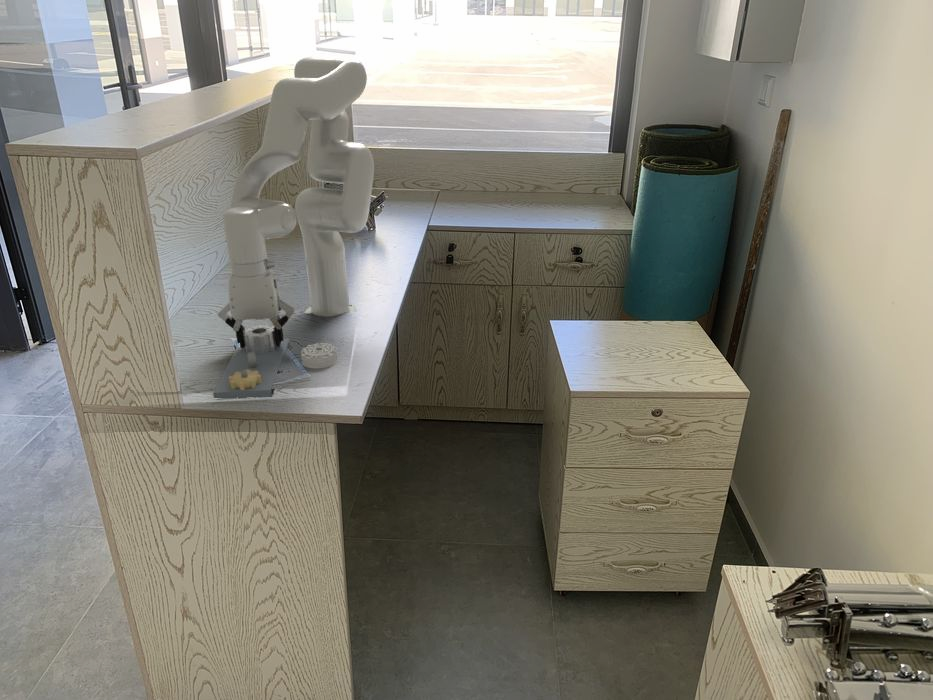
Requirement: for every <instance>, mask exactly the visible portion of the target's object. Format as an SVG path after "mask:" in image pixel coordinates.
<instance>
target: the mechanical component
mask: <svg viewBox="0 0 933 700" xmlns="http://www.w3.org/2000/svg"><path fill="white" fill-rule="evenodd" d="M300 357H301V365H302V366H304V367H305V368H309V369H324V368H325V369H326V368H329V367H332V366H335V365H336V364H337V363H338V362H339V360H340V359H339V355H338V347H337V346H335V345H334V344H333V343H331V344H330V343H328V342H320V343H319V342H316V343H313V344H308V345H307V346H306V347H302V349H301V350H300Z"/></svg>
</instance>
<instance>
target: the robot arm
mask: <svg viewBox="0 0 933 700" xmlns="http://www.w3.org/2000/svg"><path fill="white" fill-rule="evenodd" d="M362 63H363V62H361V61H360V60H358V59H357V58H354V57H351V56H308V57H303V58H302V59H300V60H298V61H297V62H296V64H295V66H294V71H293V72H294V73H293V75H294V77H290V78H289V77H287V78H283V79H280V80H279V81H277V82H276V83H275V85H274V86H273V89H272V94H271V98H270V103H269V108H268V112H267V113H268V114H267V116H266V117H267V118H266V123H265V128H264V133H263V138H262V143H261V146H260V148H259V149H258V151H257V152H255V153H254V154H253V155H252V157H250V159H249V160H248V161H247V163H246V164H245V165H244V167H243V168H242V169H241V171H240V172H239V174H238V175H237V178H236V179H235V182H234V185H233V192H232V197H231V203H230V208H229V209H227V210H225V211H224V213H223V215H222V220H223V222H222V223H223V227H224V229H223V230H224V233H225V241H226V247H227V253H228V259H229V264H230V273H229V274H228V275H229V276H228V302H227V304H226V305H224V306H223V307H222V308H221V309H220V310H219V312H218V313H217V316H218V317H219V318H220V319H222V321H224V322H225V324H226V325H227V326H229V327H230V328H232V330H233V331H234V332H235V335H236V342H237V344H239V343H240V347H241V348H244V347H245V343H244V336H243V331H246V328H245V326H244V325H243V322H244V321H257V320H258V321H259V320H262V321H263V320H270V322H271V323H272V326H274V327H275V329H274V336H275V343H276V346H280V344H281V341H283V339H284V332H283V331H284V330H283V326H284V325H285V324H286V323H288V321H289V319H290V318H291V317H292V316H293V314H295V310H296V309H295V308H294V307H292V306H291V305H289V304H288V303H287V302H285V301H284V300H282V299H281V295H280V291H279V288H278V282H277V279H276V276H275V273H274V270H273V269H272V268H276V261H274V260H270V259H269V257H268V255H267V248H266V240H269V239H270V240H271V239H277V238H282V237H285V236H287V235H290V233H291V232H293V231H294V230H295V228H296V226H297V223H298V225H299V229H300V232H301V237H302V241H303V249H304V256H305V257H304V259H305V267H306V275H307V286H308V293H309V303H310V306H309V307H308V308H307V309H306V310H305V312H304V313H305V314H312V315H315V316H318V317H335V316H340V315H343V314H346V313H347V312H348V313H349V312H357V307H356V306H355V305H353V304H352V303H350V297H349V286H348V275H347V274H348V273H347V264H346V249H345V243H344V241H343V238H342V236H341V233H349V234H350V233H351V234H352V233H353V234H354V233H359V232H360V231H362V230H364V228H365V226H366V224H367V222H368V217H369V215H370V214H369V213H370V207H371V201H372V192H373V185H374V175H375V162H374V157H373V154H372V151H371V150H370V149H369V148H368V146H366V145H365V144H363V143H360V142H353V141H348V138H349V129H350V128H349V127H350V126H349V125H350V122H349V115H348V114H347V112H346V109H347V108H349V106H351V105H352V104H353V103H355V102H356V101H357V100H358V99H359V98H360V97H361V96H362V94H363V93H364V92H365V91H364V90H365V88H366V85H367V82H368V81H367V80H368V77H367V71H366V68H365V66H364V65H363V64H362ZM310 121H311V126H310V127H311V128H310V135H309V144H308V152H307V160H306V161H307V165H306V166H307V172H308V174H309V177H310V178H312V179H313V180H315V181H317V182H321V183H322V182H323V183H328V184H329V183H330V184H340V185H343V187H342V189H335V188H328V187H326V188H325V187H308V188H305V189H304V190H301V191H300V193H299V194H298V195H297V196H296V200H295V205H294V207H293V206H292V205H290V204H289V203H287V202H285V201H280V200H274V199H273V200H272V199H266V198H260V195H261V192H262V189H263V187H264V185H265V184H266V183H267V181H269V180H270V178H271V177H273V175H275V174H277V173H279V172H280V171H282V170H284V169H286V168H288V167H289V166H292V165H294V164H296V163H298V162H299V161H300V160H301V159H302V157H303V152H304V148H305V142H306V138H307V134H308V133H307V132H308V128H309V123H310ZM340 232H341V233H340ZM280 311H284V312H285V313H284V314H283V315H282V316H280V315H279V312H280ZM229 312H230V315H231V316H230V315H229Z"/></svg>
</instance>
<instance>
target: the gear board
mask: <svg viewBox="0 0 933 700" xmlns="http://www.w3.org/2000/svg"><path fill="white" fill-rule="evenodd" d="M290 340H291V339H290V338H283V341H281V344H280V346H278V348H275V350H274V351H272V352H271V351H269V352H266V353H265V354H262V353H257V354H255V353H254V352H248V353H247V352H246V349H245V347H244V348H241V347H238V345H237V347H236V349H235V350H234V352H233V354H232V356H231V357H230V359H229V362H228V364H226V367H225V369H224V371H223V373H222V375H221V377H220V379H219V381H217V384H216V386H215V388H214V390H213V392H212V397H213V399H214V398H237V397H238V399H248V398H247V397H255V399H256V397H258V398H272V397H273V395H274V391H275V388H273V385H274V383H275V381H276V377H277V374H278V373H279V370H280V367H281V363H282V361H283V359H284V356H285V352H286V350H287V348H288V345H289V343H290Z"/></svg>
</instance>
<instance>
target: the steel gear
mask: <svg viewBox="0 0 933 700" xmlns="http://www.w3.org/2000/svg"><path fill="white" fill-rule="evenodd" d="M274 329H275V326H274V325H272V326H270V325H269V324H264V325H260V324H256V325H255V326H249V327H247V328H245V331H243V336H244V343H245V349H246V352H247V353H248V352H254V353H255V354H257V353H262V354H265V353H266V352H269V351H271V352H272V351H274V350H275V348H278V346H276V343H275V336H274Z"/></svg>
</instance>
